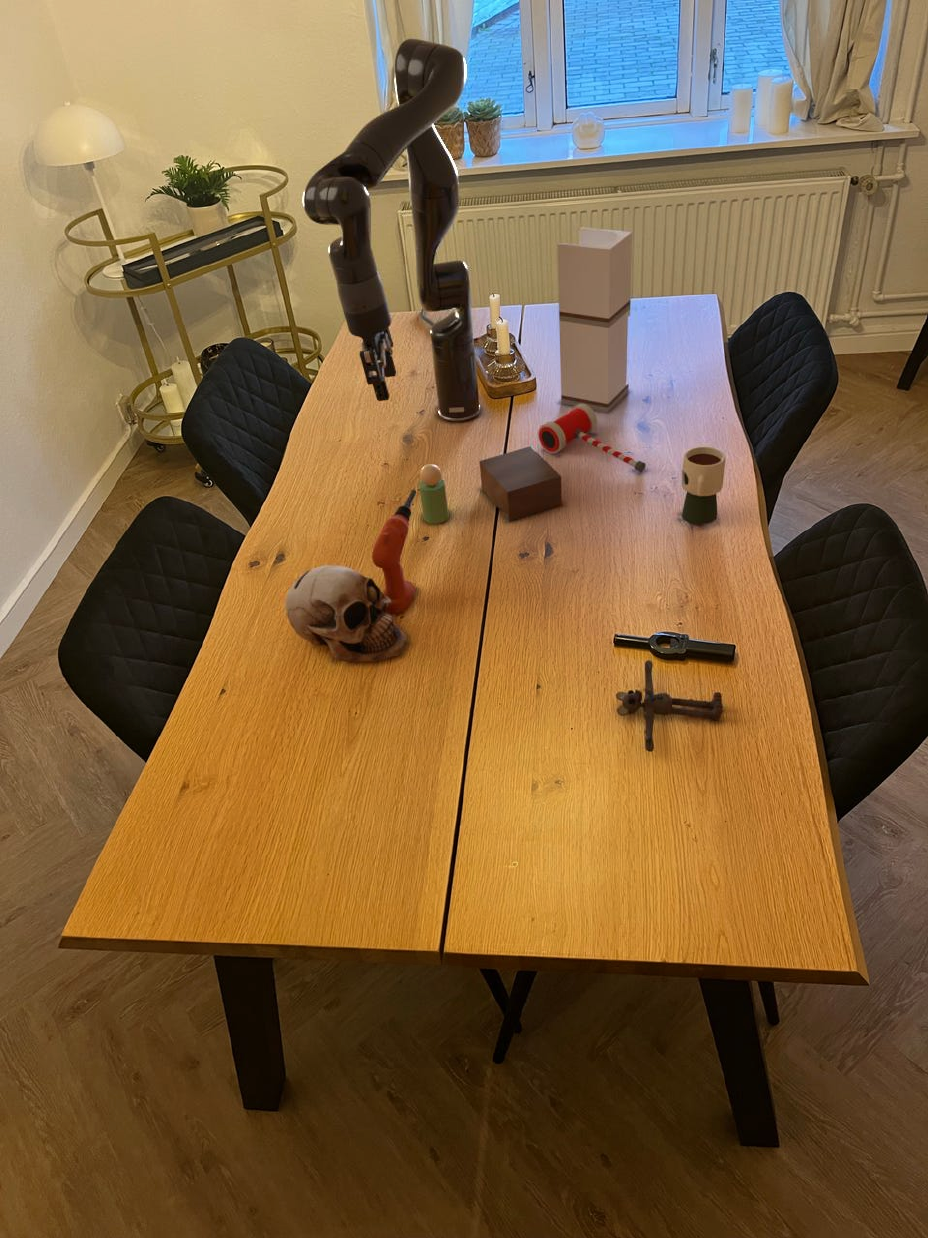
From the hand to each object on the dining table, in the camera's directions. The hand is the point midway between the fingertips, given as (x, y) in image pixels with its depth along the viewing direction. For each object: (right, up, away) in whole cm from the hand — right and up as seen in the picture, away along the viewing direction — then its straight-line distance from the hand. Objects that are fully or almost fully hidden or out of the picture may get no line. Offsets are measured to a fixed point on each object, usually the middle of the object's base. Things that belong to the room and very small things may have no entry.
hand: (387, 387), depth 165 cm
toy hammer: (+40, -7, +25) cm, 48 cm away
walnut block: (+25, -18, +13) cm, 33 cm away
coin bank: (-5, -45, -14) cm, 47 cm away
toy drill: (+4, -36, -4) cm, 36 cm away
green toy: (+8, -22, +11) cm, 26 cm away
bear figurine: (+43, -55, -33) cm, 77 cm away
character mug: (+57, -23, +3) cm, 61 cm away
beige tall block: (+43, +8, +42) cm, 61 cm away
